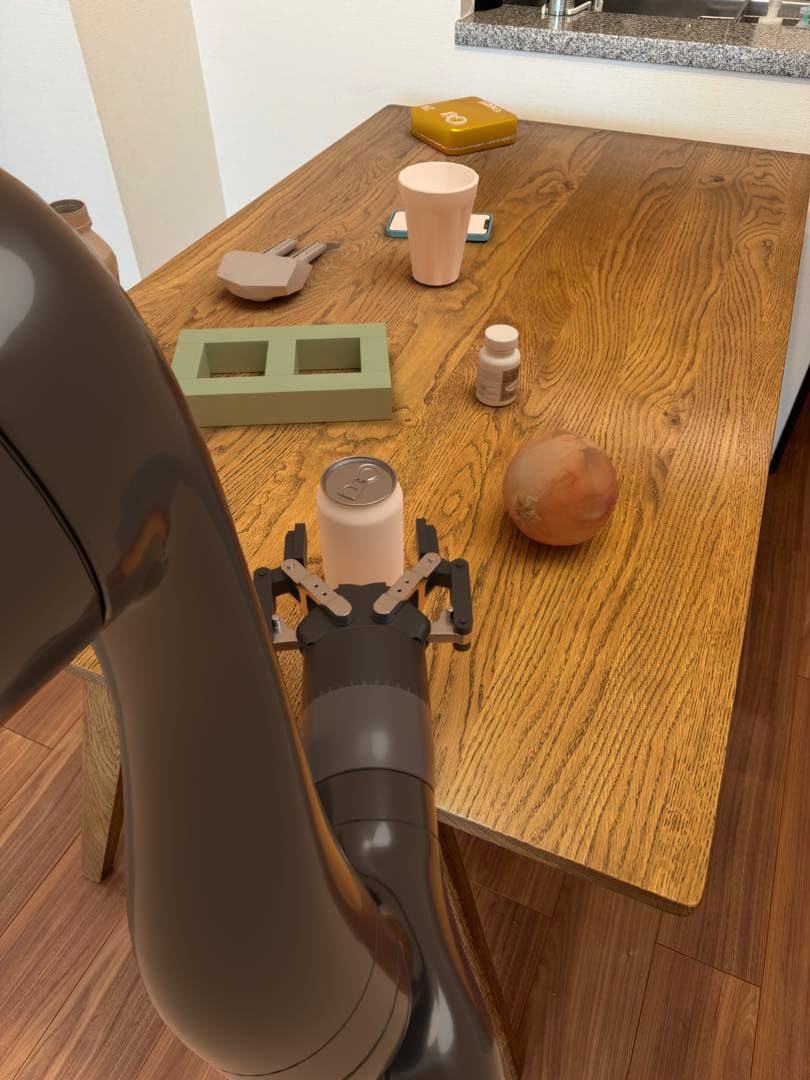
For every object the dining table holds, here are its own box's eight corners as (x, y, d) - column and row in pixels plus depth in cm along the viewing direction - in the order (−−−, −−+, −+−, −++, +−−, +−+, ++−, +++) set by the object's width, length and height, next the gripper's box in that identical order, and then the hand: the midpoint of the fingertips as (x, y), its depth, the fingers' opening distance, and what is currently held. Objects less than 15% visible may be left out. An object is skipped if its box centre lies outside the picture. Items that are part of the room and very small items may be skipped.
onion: (477, 540, 69) (485, 452, 62) (529, 480, 75) (542, 392, 68) (577, 586, 65) (598, 497, 58) (624, 518, 71) (648, 429, 64)
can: (417, 578, 66) (419, 469, 58) (377, 630, 62) (372, 521, 54) (353, 550, 68) (346, 441, 60) (310, 599, 64) (296, 489, 56)
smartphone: (394, 210, 118) (493, 214, 116) (394, 217, 119) (492, 221, 117) (384, 230, 113) (488, 235, 111) (385, 238, 114) (488, 243, 112)
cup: (388, 288, 102) (386, 186, 93) (410, 256, 109) (411, 157, 100) (462, 299, 100) (468, 196, 91) (480, 265, 107) (487, 166, 98)
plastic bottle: (134, 366, 89) (83, 186, 75) (162, 392, 86) (114, 208, 71) (80, 387, 86) (16, 204, 72) (107, 414, 83) (45, 228, 68)
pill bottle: (510, 411, 83) (518, 347, 77) (470, 403, 84) (475, 339, 78) (520, 389, 86) (527, 325, 80) (481, 381, 87) (486, 318, 81)
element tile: (520, 142, 141) (522, 113, 138) (450, 158, 136) (451, 128, 132) (474, 119, 150) (475, 91, 147) (406, 132, 145) (406, 104, 142)
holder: (392, 419, 82) (391, 387, 79) (170, 428, 81) (162, 396, 78) (386, 353, 91) (385, 322, 88) (187, 360, 90) (180, 329, 87)
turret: (339, 267, 111) (339, 232, 108) (280, 314, 96) (278, 275, 93) (275, 258, 113) (273, 224, 110) (207, 302, 98) (202, 264, 95)
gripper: (495, 682, 42) (462, 485, 54) (230, 696, 42) (253, 493, 53) (485, 753, 47) (457, 560, 59) (250, 766, 47) (267, 568, 58)
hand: (360, 528), depth 56 cm, fingers open, 8 cm apart
